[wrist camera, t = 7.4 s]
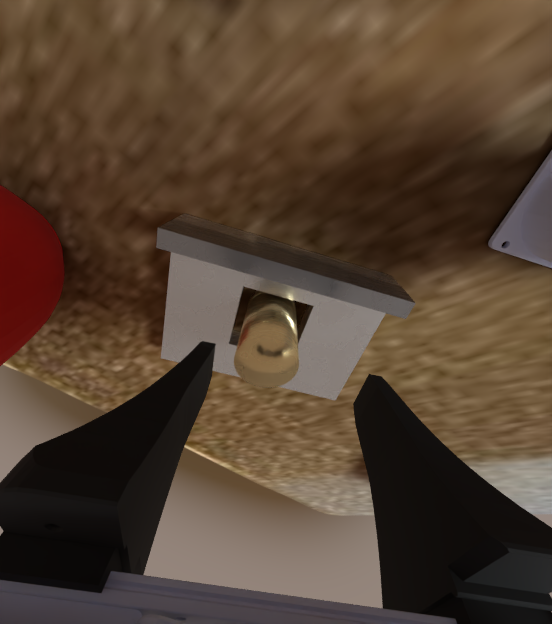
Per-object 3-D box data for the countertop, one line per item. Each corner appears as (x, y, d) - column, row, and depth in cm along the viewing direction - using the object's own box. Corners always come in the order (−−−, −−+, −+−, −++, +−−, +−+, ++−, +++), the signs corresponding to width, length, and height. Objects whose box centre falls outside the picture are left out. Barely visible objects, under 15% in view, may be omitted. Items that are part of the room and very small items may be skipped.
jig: (391, 275, 21) (415, 303, 17) (332, 384, 27) (339, 423, 23) (184, 213, 19) (157, 227, 15) (169, 344, 25) (147, 378, 21)
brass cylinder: (299, 289, 22) (304, 341, 16) (292, 330, 24) (294, 391, 18) (249, 283, 21) (234, 333, 15) (246, 325, 24) (232, 384, 17)
